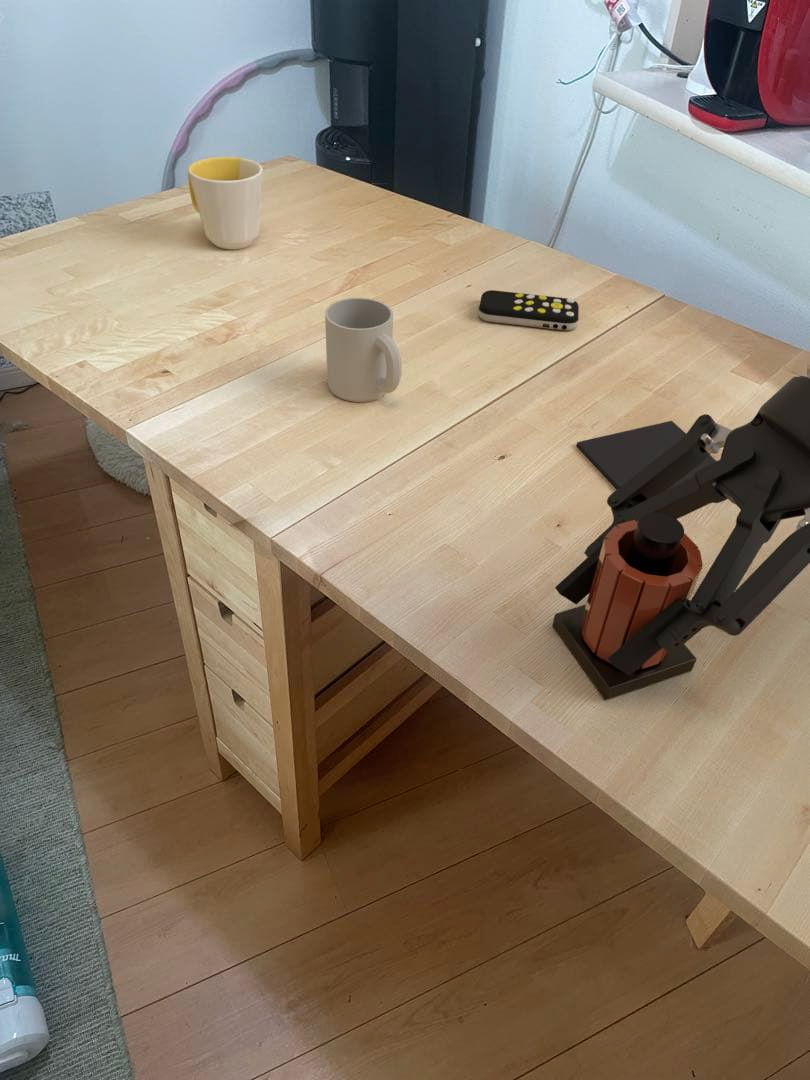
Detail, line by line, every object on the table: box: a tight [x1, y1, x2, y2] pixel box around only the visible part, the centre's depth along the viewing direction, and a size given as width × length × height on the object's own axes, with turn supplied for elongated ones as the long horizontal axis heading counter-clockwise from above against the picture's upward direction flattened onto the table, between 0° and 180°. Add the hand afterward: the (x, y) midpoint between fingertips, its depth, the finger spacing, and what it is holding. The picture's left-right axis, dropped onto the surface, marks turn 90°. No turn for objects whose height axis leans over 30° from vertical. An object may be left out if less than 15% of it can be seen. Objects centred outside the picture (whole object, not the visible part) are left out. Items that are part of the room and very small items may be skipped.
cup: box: [324, 297, 403, 403], centre depth 88 cm, size 7×10×9 cm
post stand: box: [552, 512, 698, 701], centre depth 60 cm, size 8×8×13 cm
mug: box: [187, 156, 264, 250], centre depth 117 cm, size 14×10×10 cm
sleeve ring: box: [581, 520, 704, 669], centre depth 61 cm, size 7×7×9 cm
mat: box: [576, 420, 717, 490], centre depth 83 cm, size 12×12×1 cm
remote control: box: [477, 289, 580, 331], centre depth 105 cm, size 6×13×2 cm, turn 80°
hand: (591, 629), depth 61 cm, fingers closed on sleeve ring, 7 cm apart
